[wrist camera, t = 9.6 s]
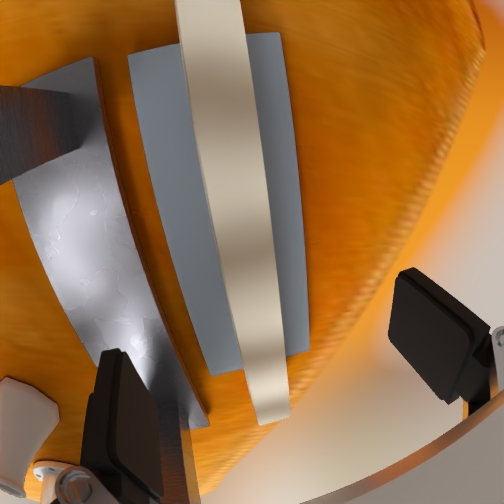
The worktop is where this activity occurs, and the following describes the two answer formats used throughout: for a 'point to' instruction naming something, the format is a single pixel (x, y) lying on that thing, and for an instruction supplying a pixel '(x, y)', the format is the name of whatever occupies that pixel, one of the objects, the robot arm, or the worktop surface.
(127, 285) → the grey holder stand
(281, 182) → the mat
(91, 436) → the robot arm
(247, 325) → the rail
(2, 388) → the flask
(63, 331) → the worktop surface
